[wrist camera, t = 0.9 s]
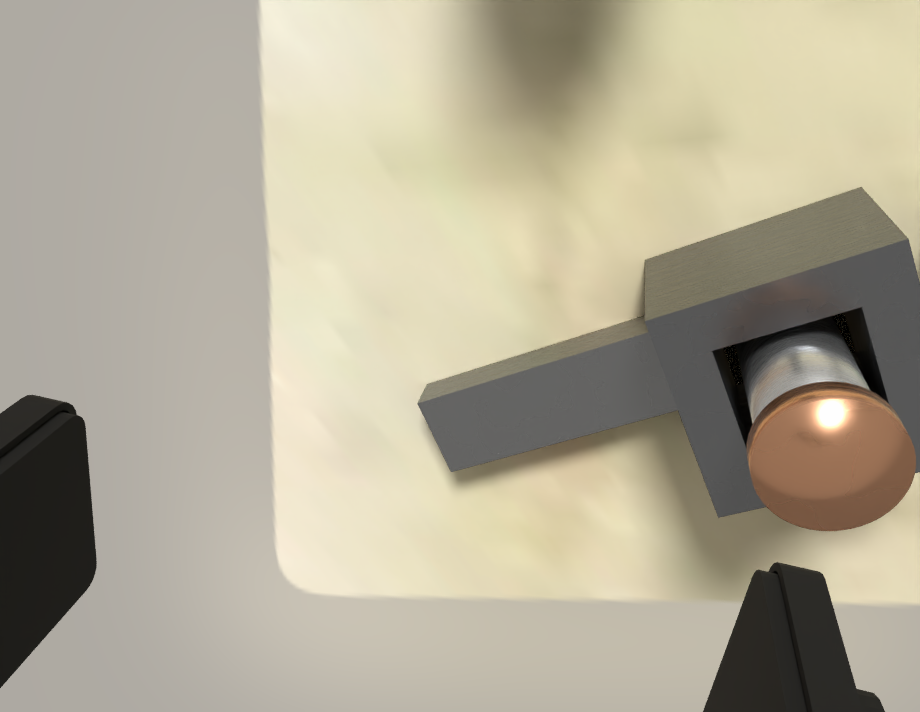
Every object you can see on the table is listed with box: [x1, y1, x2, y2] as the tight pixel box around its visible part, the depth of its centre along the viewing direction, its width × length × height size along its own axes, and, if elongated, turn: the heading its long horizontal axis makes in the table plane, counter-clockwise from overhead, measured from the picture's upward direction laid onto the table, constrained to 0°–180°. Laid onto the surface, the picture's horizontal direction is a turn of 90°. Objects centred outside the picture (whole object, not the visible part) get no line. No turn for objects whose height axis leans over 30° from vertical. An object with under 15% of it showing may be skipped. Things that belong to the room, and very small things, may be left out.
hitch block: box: [417, 187, 920, 518], centre depth 36 cm, size 21×9×7 cm, turn 114°
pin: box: [735, 316, 916, 531], centre depth 32 cm, size 5×5×12 cm
